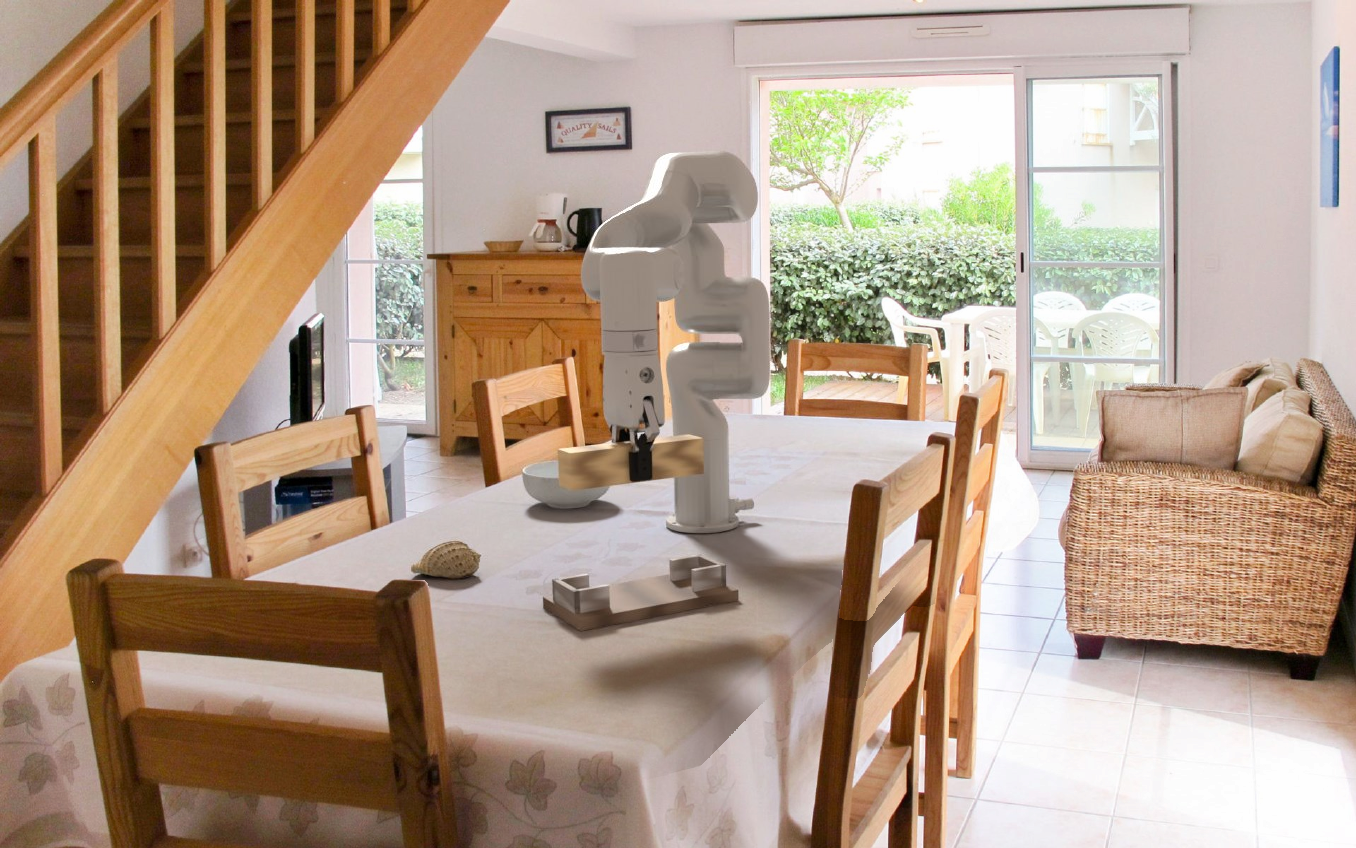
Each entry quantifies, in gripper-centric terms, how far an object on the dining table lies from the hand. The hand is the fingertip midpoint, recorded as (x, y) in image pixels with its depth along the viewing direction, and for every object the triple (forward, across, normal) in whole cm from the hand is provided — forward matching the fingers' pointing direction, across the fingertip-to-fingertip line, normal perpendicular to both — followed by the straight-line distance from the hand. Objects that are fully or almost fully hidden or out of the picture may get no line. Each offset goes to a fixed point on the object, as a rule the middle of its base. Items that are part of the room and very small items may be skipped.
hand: (633, 476), depth 169 cm
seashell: (+18, +27, +18) cm, 37 cm away
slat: (0, 0, 0) cm, 0 cm away
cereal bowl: (+17, +62, -17) cm, 67 cm away
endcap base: (+18, -1, 0) cm, 18 cm away
